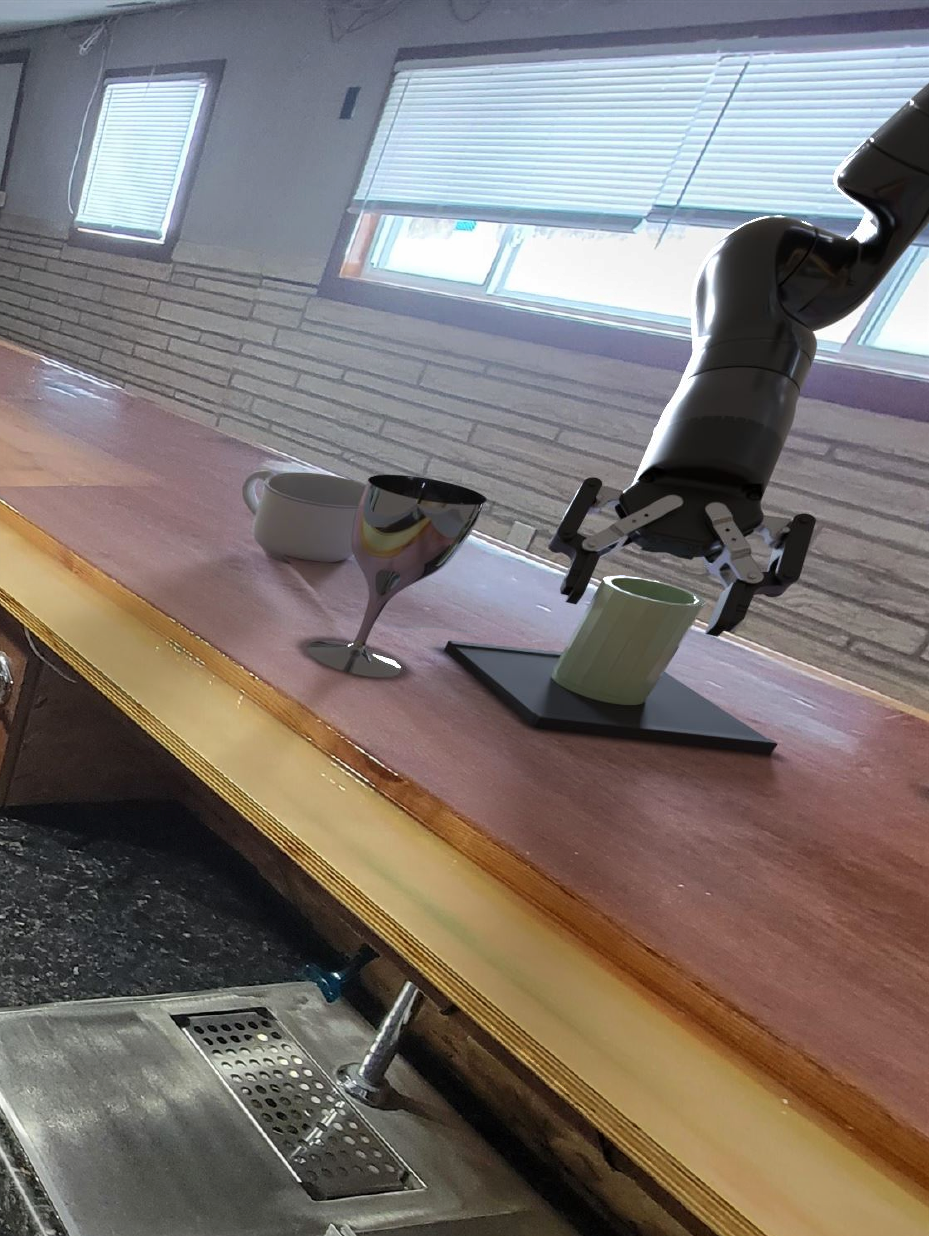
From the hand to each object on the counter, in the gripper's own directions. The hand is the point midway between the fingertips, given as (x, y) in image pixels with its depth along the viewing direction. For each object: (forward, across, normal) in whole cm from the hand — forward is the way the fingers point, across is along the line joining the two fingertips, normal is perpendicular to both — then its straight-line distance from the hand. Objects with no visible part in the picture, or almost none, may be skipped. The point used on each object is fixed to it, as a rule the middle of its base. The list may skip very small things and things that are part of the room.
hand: (643, 614), depth 78 cm
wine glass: (+10, -16, +1) cm, 19 cm away
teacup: (-9, -27, +20) cm, 34 cm away
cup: (+5, 0, +4) cm, 7 cm away
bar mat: (+6, 0, +5) cm, 8 cm away
